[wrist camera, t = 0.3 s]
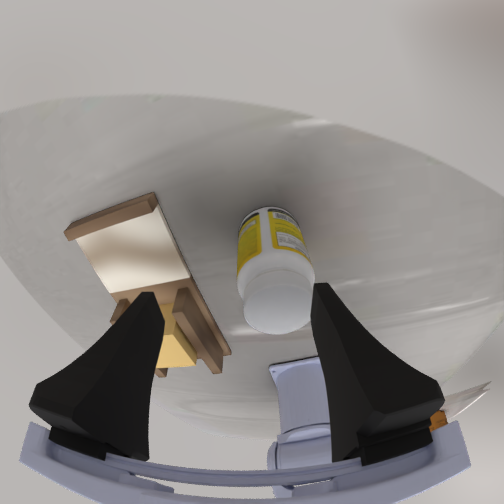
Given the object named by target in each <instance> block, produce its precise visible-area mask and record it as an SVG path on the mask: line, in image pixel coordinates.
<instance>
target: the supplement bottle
mask: <svg viewBox="0 0 504 504" xmlns="http://www.w3.org/2000/svg"><path fill="white" fill-rule="evenodd" d="M314 282H315V276H314V270H313V267H312V264H311V261H310V258H309V255H308V251H307V248H306V246H305V243H304V240H303V237H302V234H301V231H300V228H299V225H298V223H297V221H296V219H295V218H294V217H293V216H292V215H291V214H290V213H289V212H287V211H285V210H283V209H281V208H277V207H264V208H260V209H258V210H255V211H253V212H252V213H250V214H249V215H248V216H246V217H245V219H244V220H243V221H242V223H241V225H240V228H239V234H238V259H237V288H238V292H239V294H240V296H241V298H242V299H243V313H244V317H245V320H246V321H247V323H248V324H249V325H250V326H251V327H252V328H254V329H255V330H257V331H260V332H263V333H266V334H286V333H290V332H293V331H296V330H298V329H300V328H301V327H303V326H304V325H306V324H307V323H308V322H309V321H310V320H311V318H310V313H311V304H312V295H313V286H314Z"/></svg>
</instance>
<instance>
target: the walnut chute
mask: <svg viewBox="0 0 504 504" xmlns="http://www.w3.org/2000/svg"><path fill="white" fill-rule="evenodd" d="M64 234H65V236H66V238H67V239H68V241H71V240H74V239H76V240H77V242H78V243H79V245H80V247H81V249H82V250H83V252H84V254H85V255H86V257H87V259H88V260H89V262H90V263H91V265H92V267H93V268H94V270H95V271H96V273H97V275H98V276H99V278H100V279H101V281H102V282H103V284H104V285H105V287H106V288H107V290H108V291H109V293H110V294H111V295H112V297H113V298H114V300H115V301H116V303H117V306H116V309H115V311H114V313H113V315H112V318H111V320H110V323H111V324H112V325H113V324H114V323H115V322H116V321H117V320H118V318H119V317H120V316H121V315H122V314H123V313H124V312H125V310H126V309H127V308H128V307H129V306H130V305H131V303H132V302H133V301H134V300H135V299H136V298H137V296H138V295H139V294H140V293H141V292H152V291H154V294H155V297H156V299H157V302H158V304H159V305H162V304H168V303H174V305H173V309H172V315H173V317H174V318H175V320H176V321H177V323H178V324H179V326H180V327H181V329H182V330H183V332H184V333H185V335H186V336H187V338H188V339H189V341H190V342H191V344H192V345H193V347H194V348H195V349H196V351H197V352H198V353H197V359H201V358H202V359H203V361H204V362H205V364H206V365H207V366H208V368H209V369H210V370H211V372H212V373H213V374H219V373H222V366H223V356H227V355H231V350H230V348H229V346H228V345H227V343H226V341H225V339H224V337H223V335H222V334H221V332H220V330H219V328H218V326H217V324H216V322H215V321H214V319H213V317H212V315H211V313H210V311H209V309H208V307H207V305H206V303H205V301H204V299H203V298H202V296H201V294H200V292H199V290H198V288H197V286H196V284H195V282H194V280H193V278H192V276H191V274H190V271H189V269H188V267H187V265H186V263H185V261H184V259H183V257H182V255H181V253H180V251H179V248H178V246H177V244H176V242H175V240H174V238H173V235H172V233H171V231H170V229H169V227H168V224H167V222H166V220H165V218H164V215H163V213H162V211H161V208H160V206H159V204H158V202H157V199H156V197H155V194H154V192H152V193H149V194H146V195H144V196H141V197H138V198H135V199H132V200H129V201H127V202H124V203H121V204H118V205H116V206H113V207H111V208H108V209H105V210H103V211H100V212H98V213H95V214H93V215H90V216H88V217H85V218H83V219H80V220H78V221H76V222H73V223H71V224H70V225H69V226H68V228H67V229H66V230H65V231H64ZM167 370H168V368H156V369H155V374H156V375H157V376H158V377H166V376H167Z"/></svg>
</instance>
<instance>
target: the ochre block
mask: <svg viewBox="0 0 504 504" xmlns="http://www.w3.org/2000/svg"><path fill="white" fill-rule="evenodd" d="M173 305H174V303H168V304H162V305H159V307H160V310H161V312H162V315H163V317H164V319H165V328H164V336H163V342H162V346H161V350H160V354H159V358H158V361H157V365H156V368H169V367H184V366H196V361H197V353H198V352H197V351H196V349H195V348H194V347H193V345H192V344H191V342H190V341H189V339H188V338H187V336H186V335H185V333H184V332H183V330H182V329H181V327H180V326H179V324H178V323H177V321H176V320H175V318H174V317H173V315H172V309H173Z"/></svg>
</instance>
